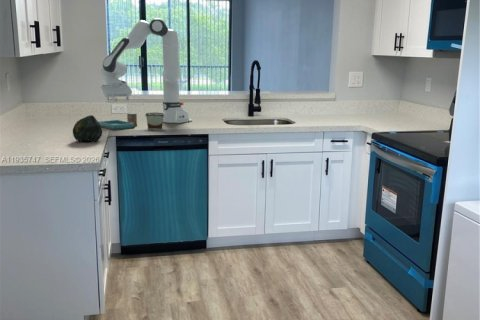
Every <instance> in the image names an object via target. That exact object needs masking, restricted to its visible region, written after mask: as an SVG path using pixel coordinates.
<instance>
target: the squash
mask: <svg viewBox="0 0 480 320" xmlns="http://www.w3.org/2000/svg"><path fill="white" fill-rule="evenodd" d="M72 135H73V136H72V137H74V139H75V141H78V142H93V141H94V142H97V141H98V140H100V139H101V137H102V136H103V127H101V125H100V124H99V121H98V120H97V118H96V117H95V116H94V115H86V116H85V117H83V118H81V119H79V120H77V121H76V122H75V124H74V125H73V128H72Z"/></svg>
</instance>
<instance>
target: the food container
mask: <svg viewBox="0 0 480 320" xmlns="http://www.w3.org/2000/svg"><path fill="white" fill-rule="evenodd" d="M163 116H164V114H163V112H157V111H156V112H147V113H145V117H146V123H147V129H148V130H163V127H164V125H163V123H164V122H163Z"/></svg>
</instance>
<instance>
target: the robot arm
mask: <svg viewBox="0 0 480 320" xmlns="http://www.w3.org/2000/svg"><path fill="white" fill-rule="evenodd" d="M167 26H168V25H166V22H165V21H164V20H163V19H162V18H160V17H159V18H158V17H156V18H155V17H154V18H153V19H151V21H150V22H148V21H146V20H143V19H140V20H138V21H137V23H136V24H135V25H134V26H133V27H132V29H131V31H130V32H129V33H128V34H127V36H125V37H123V38H121V40H120V41H119V42H118V43H117V44H116V46H115V47H114V48H113V49H112V51H111V52H110V53H109V54H108V55H107V56H106V57H105V58H104V60H103V61H102V67H101V68H100V73H101V76H102V78H103V80H104V81H105V83H106V84H102V86H101V90H102V92H103V95H104V97H105V98H110V99H112V100H113V102H117V101H118V99H117V97H118V98H119V97H126V98H125V101H126V102H129V101H130V98H129V97H131V96H132V94H133V90H132V89H131V87H130V86H129V84H128V82H127V81H125V80H122V79H120V78H122V77H123V76H125V74H126V73H127V70H128V66H127V64H125V62H122V61H120V60H119V58H120V57H121V56H122V55H123V53H124V52H125V51H126V50H129V49H134V50H135V49H140V48H141V47H142V46H143V45H144V43H145V42H146V40H147V38H148V37H149V35H151V34H152V35H155V36H159V37H161V41H162V63H163V64H162V65H163V71H162V84H163V85H162V86H163V87H162V89H163V92H162V93H163V101H162V113H163V114H164V116H163V123H169V124H171V123H174V124H182V123H188V121H189V122H192V121H193V119H192V118H190V117H189V112H188V111H187V110H185V109H184V108H183V107H182V106H184V105H185V103H184V102H183V101H182V102H180V85H179V79H180V76H181V74H180V73H181V72H180V71H181V70H180V68H181V67H180V49H179V47H180V46H179V36H178V32H177V31H176V30H175V29H171V28H168V27H167Z"/></svg>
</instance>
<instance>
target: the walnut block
mask: <svg viewBox="0 0 480 320" xmlns="http://www.w3.org/2000/svg"><path fill="white" fill-rule="evenodd" d="M126 116H127V117H126V118H127V119H126V120H127V121H126V122H130V123H134V127H137V125H138V122H137V121H138V120H137V119H138V118H137V113H135V112H131V113H129V112H128V113H127V115H126Z"/></svg>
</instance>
